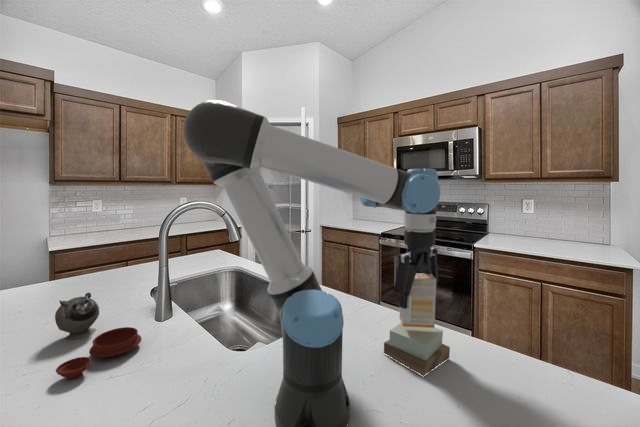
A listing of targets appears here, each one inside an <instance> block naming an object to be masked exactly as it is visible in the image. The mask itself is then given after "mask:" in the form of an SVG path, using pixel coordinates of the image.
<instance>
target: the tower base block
mask: <svg viewBox="0 0 640 427" xmlns="http://www.w3.org/2000/svg"><path fill="white" fill-rule="evenodd" d="M389 342H390V339H388V340H386V341H384V343H383V354H384V353H385V354H387V355H389V356H390V357H392V358H393V359H395V360H397V361H398V362H400V363H402V364H404V365H405V366H407V367H409V368H410V369H412V370H414V371H416V372H418V373H420V374H421V375H423V376H424V375H425V374H426V373H428V372H430V371H431V370H432V369H434V368H435V367H436V366H438V365H439V364H441V363H442V362H444V361H445V360H447V359H448V358H449V359H450V349H451V348H450V346H449V345H446V344H444V343H442V345H441V346H440V347H439V348H438V349H437V350H436V351H435V352H434V353H433V354H432V355H431V356H430V357H429V358H428V359H427V360H426V361H425V360H423V359H421V358H418V357H416V356H414V355H412V354H409V353H407V352H405V351H402V350H400V349H398V348H396V347H393V346H391V345H389Z"/></svg>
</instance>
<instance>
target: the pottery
mask: <svg viewBox="0 0 640 427" xmlns="http://www.w3.org/2000/svg"><path fill="white" fill-rule="evenodd" d="M141 342H142V336H141V335H140V334H139V332H138V329H137V328H135V327H129V326H126V327H125V326H124V327H117V328H114V329H109V330H107V331H105V332H102V333H101V334H98V335H97V336H95V338H94V339H93V340H92V346H91V347H90V349H89V355H90V356H91V357H94V358H115V357H117V356H118V357H119V356H121V355H123V354H126V352H129V351H131V350H132V349H135V348H136V347H137V346H138V345H140V343H141ZM91 357H88V356H79V357H75V358H71V359H69V360H66V361H65V362H64V361H63V363H61V364H59V365H58V366H57V367H56V369H55V373H56V374H57V375H59V376H61V377H63V378H65V379H66V381H74V380H78V379H79V378H81V377H82V376H83V375H84V372H85V371H86V369H87V368H88V367H89V366H90V364H91V362H92V359H91Z"/></svg>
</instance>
